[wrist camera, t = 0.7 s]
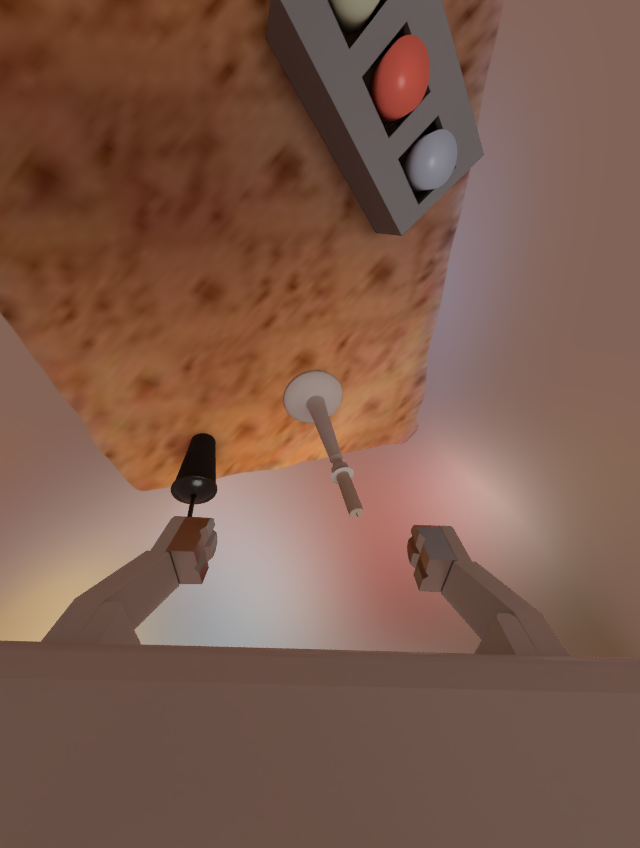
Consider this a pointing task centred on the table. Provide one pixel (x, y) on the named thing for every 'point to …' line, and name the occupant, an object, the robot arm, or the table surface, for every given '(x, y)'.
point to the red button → (400, 79)
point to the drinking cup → (197, 473)
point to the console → (352, 105)
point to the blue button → (430, 160)
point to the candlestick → (323, 424)
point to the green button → (352, 13)
